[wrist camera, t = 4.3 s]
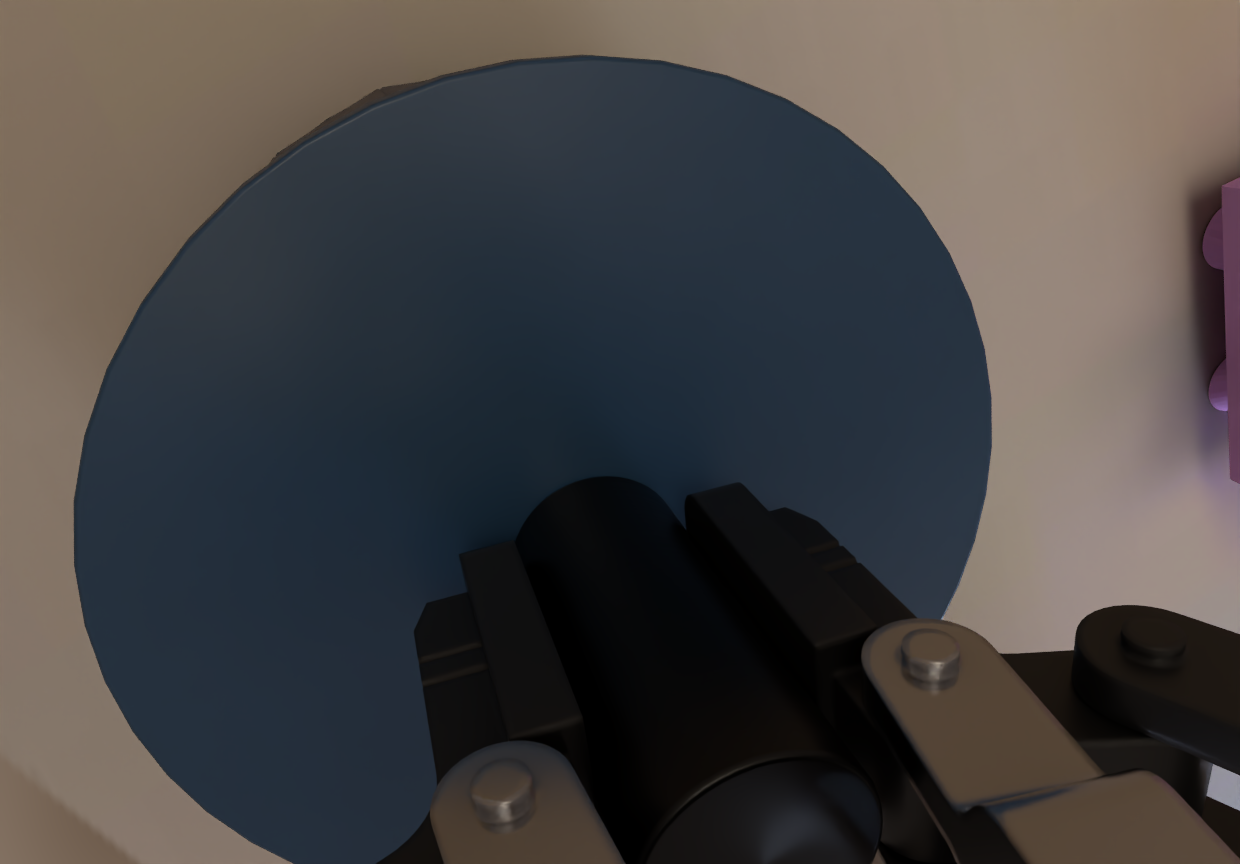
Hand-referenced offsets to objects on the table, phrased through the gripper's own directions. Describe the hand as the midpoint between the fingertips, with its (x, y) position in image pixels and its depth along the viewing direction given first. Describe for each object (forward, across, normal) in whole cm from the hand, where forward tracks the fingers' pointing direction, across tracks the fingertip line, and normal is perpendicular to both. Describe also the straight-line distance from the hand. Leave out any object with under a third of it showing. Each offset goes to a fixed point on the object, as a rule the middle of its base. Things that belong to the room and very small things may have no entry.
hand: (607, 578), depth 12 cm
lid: (+1, 0, 0) cm, 1 cm away
